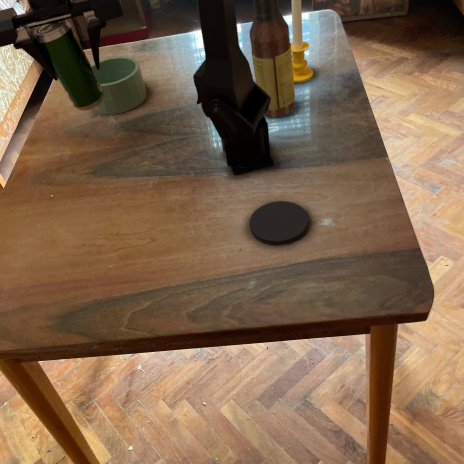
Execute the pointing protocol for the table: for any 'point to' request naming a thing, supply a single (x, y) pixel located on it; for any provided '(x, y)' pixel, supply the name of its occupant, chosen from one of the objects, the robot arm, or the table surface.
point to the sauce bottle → (272, 57)
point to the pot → (120, 84)
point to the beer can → (70, 64)
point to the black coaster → (279, 223)
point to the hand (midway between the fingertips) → (77, 74)
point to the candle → (299, 46)
